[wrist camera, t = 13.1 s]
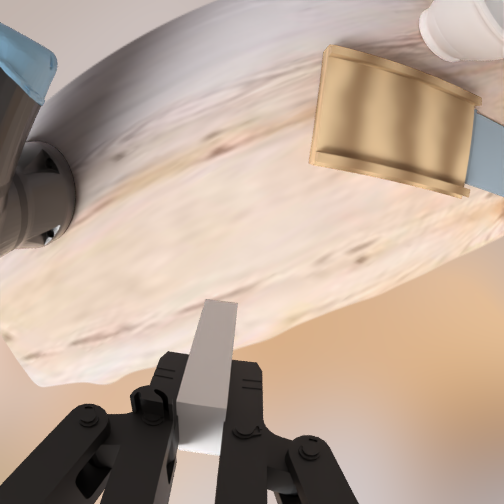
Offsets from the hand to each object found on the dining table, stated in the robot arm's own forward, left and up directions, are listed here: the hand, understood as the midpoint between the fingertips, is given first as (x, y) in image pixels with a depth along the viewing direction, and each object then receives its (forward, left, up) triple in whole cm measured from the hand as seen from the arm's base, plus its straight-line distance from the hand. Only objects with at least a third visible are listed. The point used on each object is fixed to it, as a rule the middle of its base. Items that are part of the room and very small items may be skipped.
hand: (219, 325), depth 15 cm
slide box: (+17, +14, -24) cm, 33 cm away
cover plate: (+33, +14, -25) cm, 44 cm away
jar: (+24, +30, -25) cm, 45 cm away
